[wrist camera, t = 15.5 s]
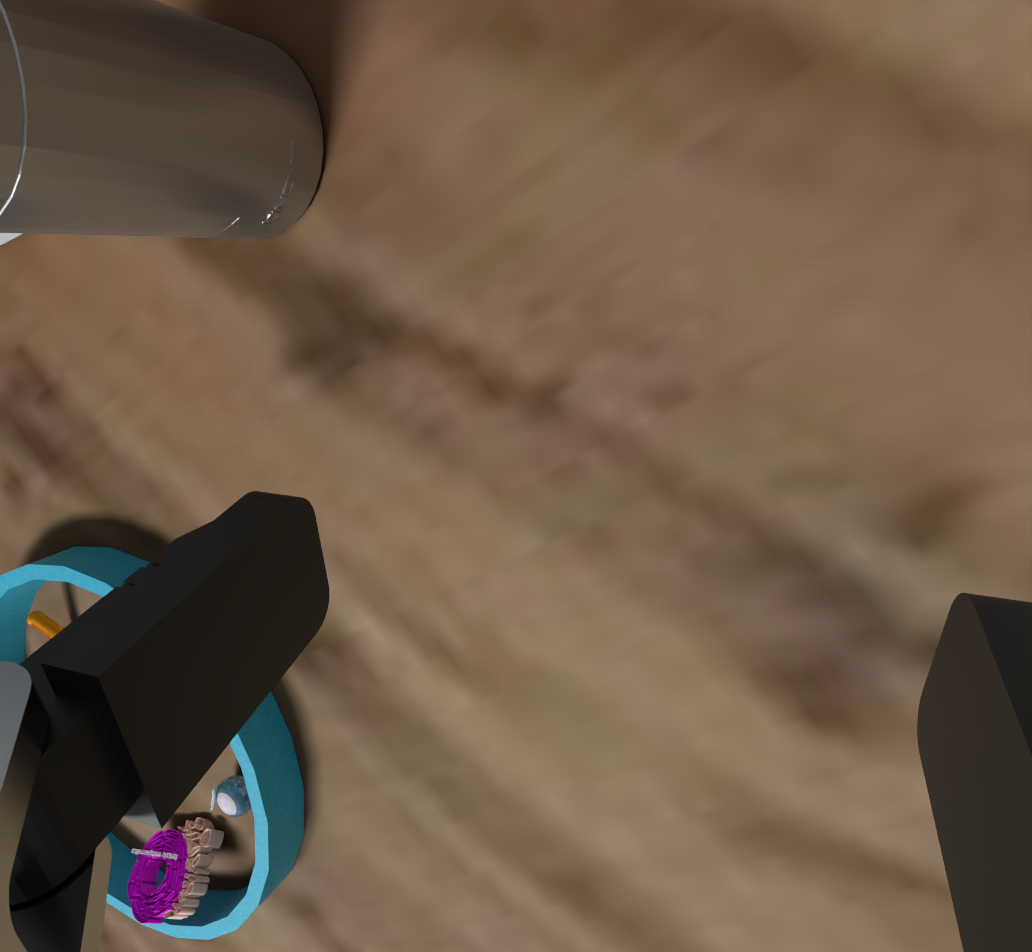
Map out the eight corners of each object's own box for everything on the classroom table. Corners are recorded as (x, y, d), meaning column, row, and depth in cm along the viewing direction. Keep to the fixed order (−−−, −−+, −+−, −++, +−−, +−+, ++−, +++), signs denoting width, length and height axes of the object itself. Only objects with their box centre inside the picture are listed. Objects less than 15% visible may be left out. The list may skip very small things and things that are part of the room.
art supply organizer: (134, 905, 64) (70, 962, 58) (-28, 600, 61) (-110, 632, 56) (378, 890, 49) (321, 965, 44) (177, 488, 46) (91, 517, 41)
